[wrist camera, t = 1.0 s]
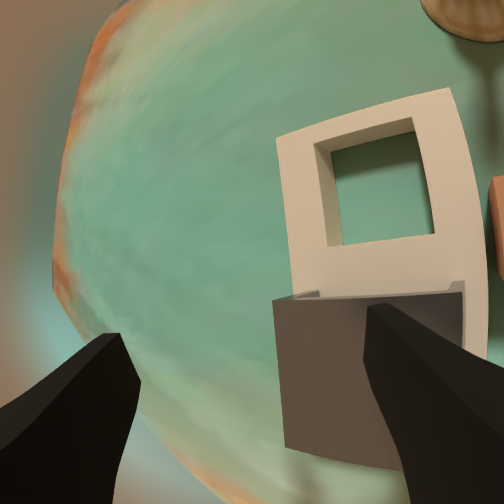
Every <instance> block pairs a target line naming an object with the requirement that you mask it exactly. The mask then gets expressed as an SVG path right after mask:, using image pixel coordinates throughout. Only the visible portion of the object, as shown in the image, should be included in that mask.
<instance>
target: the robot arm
mask: <svg viewBox="0 0 504 504" xmlns="http://www.w3.org/2000/svg"><path fill="white" fill-rule="evenodd" d="M363 363H364V366H365V370H366V373H367V377H368V380H369V383H370V386H371V389H372V392H373V394H374V396H375V399H376V401H377V403H378V406H379V408H380V410H381V413H382V415H383V417H384V420H385V422H386V424H387V426H388V429H389V431H390V434H391V436H392V438H393V441H394V443H395V445H396V448H397V451H398V454H399V456H400V459H401V463H402V467H403V471H404V475H405V479H406V483H407V487H408V492H409V496H410V501H411V504H504V368H503V367H500V366H498V365H496V364H493V363H491V362H489V361H487V360H484V359H482V358H480V357H478V356H476V355H474V354H472V353H470V352H468V351H467V350H465V349H463V348H461V347H459V346H457V345H456V344H454V343H452V342H450V341H449V340H447V339H445V338H444V337H442V336H440V335H439V334H437V333H435V332H434V331H432V330H431V329H429V328H427V327H426V326H424V325H423V324H421V323H419V322H418V321H416V320H415V319H413V318H412V317H410V316H409V315H407V314H405V313H404V312H402V311H401V310H399V309H397V308H396V307H394V306H392V305H391V304H389V303H387V302H386V303H381V304H375V305H369V306H367V315H366V330H365V343H364V354H363ZM140 387H141V380H140V378H139V376H138V374H137V372H136V370H135V367H134V365H133V363H132V361H131V358H130V356H129V354H128V352H127V349H126V347H125V345H124V342H123V340H122V337H121V335H120V333H103V334H102V335H100V336H98V337H97V338H95V339H94V340H92V341H91V342H90V343H88V344H87V345H86V346H84V347H83V348H82V349H81V350H79V351H78V352H77V353H76V354H74V355H73V356H72V357H71V358H69V359H68V360H67V361H66V362H64V363H63V364H62V365H61V366H59V367H58V368H57V369H56V370H54V371H53V372H52V373H50V374H49V375H48V376H47V377H45V378H44V379H43V380H41V381H40V382H38V383H37V384H36V385H35V386H33V387H32V388H30V389H29V390H28V391H26V392H25V393H23V394H22V395H20V396H19V397H18V398H16V399H14V400H13V401H11V402H9V403H8V404H6V405H5V406H3V407H1V408H0V504H112V501H113V495H114V488H115V481H116V476H117V472H118V467H119V464H120V461H121V457H122V454H123V451H124V448H125V445H126V441H127V438H128V435H129V432H130V429H131V426H132V422H133V419H134V416H135V413H136V409H137V404H138V399H139V393H140Z"/></svg>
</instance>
